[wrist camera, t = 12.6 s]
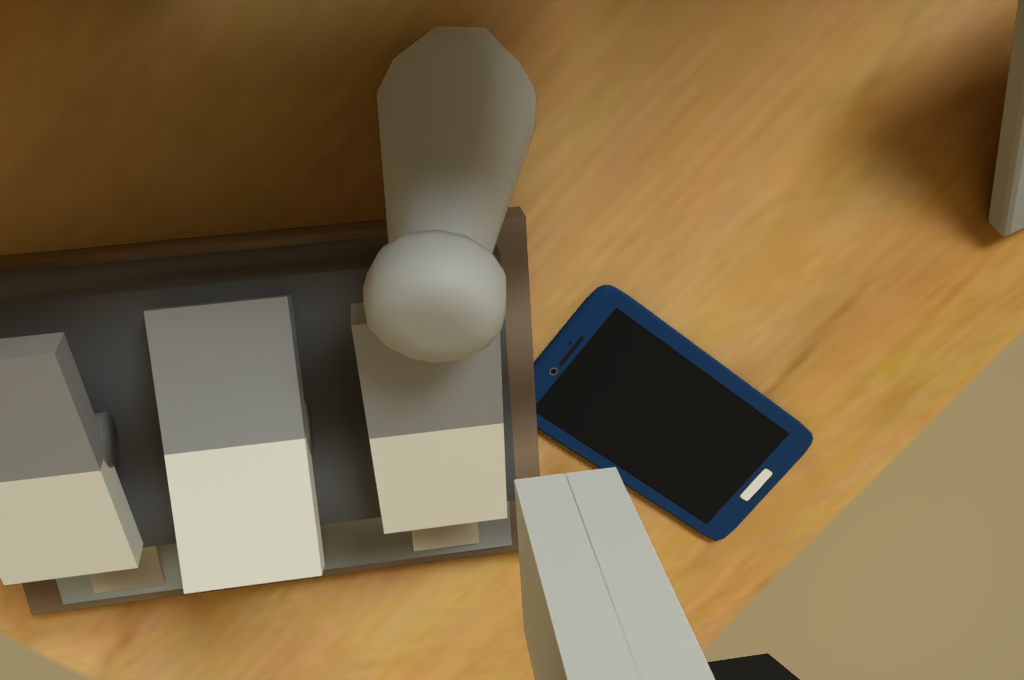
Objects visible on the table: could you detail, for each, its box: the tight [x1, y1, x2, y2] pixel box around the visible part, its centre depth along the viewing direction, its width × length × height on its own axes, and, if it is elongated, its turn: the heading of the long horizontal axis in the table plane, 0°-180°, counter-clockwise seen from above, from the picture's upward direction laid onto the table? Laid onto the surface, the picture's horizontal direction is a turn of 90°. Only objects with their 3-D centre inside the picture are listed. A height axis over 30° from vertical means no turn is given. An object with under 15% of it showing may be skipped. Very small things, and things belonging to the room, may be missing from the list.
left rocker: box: [0, 332, 143, 585], centre depth 33 cm, size 10×5×3 cm, turn 4°
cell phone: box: [534, 285, 813, 541], centre depth 44 cm, size 7×14×1 cm, turn 52°
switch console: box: [0, 207, 540, 615], centre depth 39 cm, size 16×23×5 cm
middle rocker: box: [144, 295, 325, 594], centre depth 34 cm, size 10×5×3 cm, turn 2°
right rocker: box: [351, 303, 507, 534], centre depth 35 cm, size 10×5×3 cm, turn 4°
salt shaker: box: [363, 26, 536, 363], centre depth 32 cm, size 6×6×13 cm
